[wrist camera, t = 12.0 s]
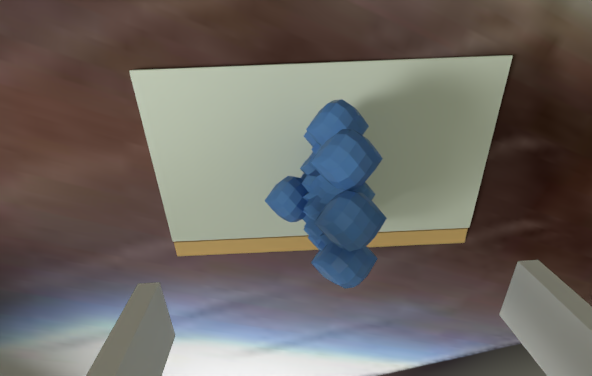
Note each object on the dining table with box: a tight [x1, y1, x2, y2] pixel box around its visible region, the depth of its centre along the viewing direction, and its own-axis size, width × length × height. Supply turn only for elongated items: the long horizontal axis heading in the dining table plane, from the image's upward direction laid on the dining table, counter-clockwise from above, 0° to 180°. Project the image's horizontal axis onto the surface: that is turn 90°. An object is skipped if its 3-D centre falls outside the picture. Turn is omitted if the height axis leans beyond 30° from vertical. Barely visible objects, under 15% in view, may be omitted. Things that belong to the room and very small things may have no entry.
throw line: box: [174, 228, 468, 256], centre depth 28 cm, size 26×2×1 cm, turn 92°
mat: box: [129, 55, 513, 242], centre depth 25 cm, size 26×14×1 cm, turn 92°
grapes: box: [265, 99, 387, 288], centre depth 19 cm, size 12×7×12 cm, turn 3°
